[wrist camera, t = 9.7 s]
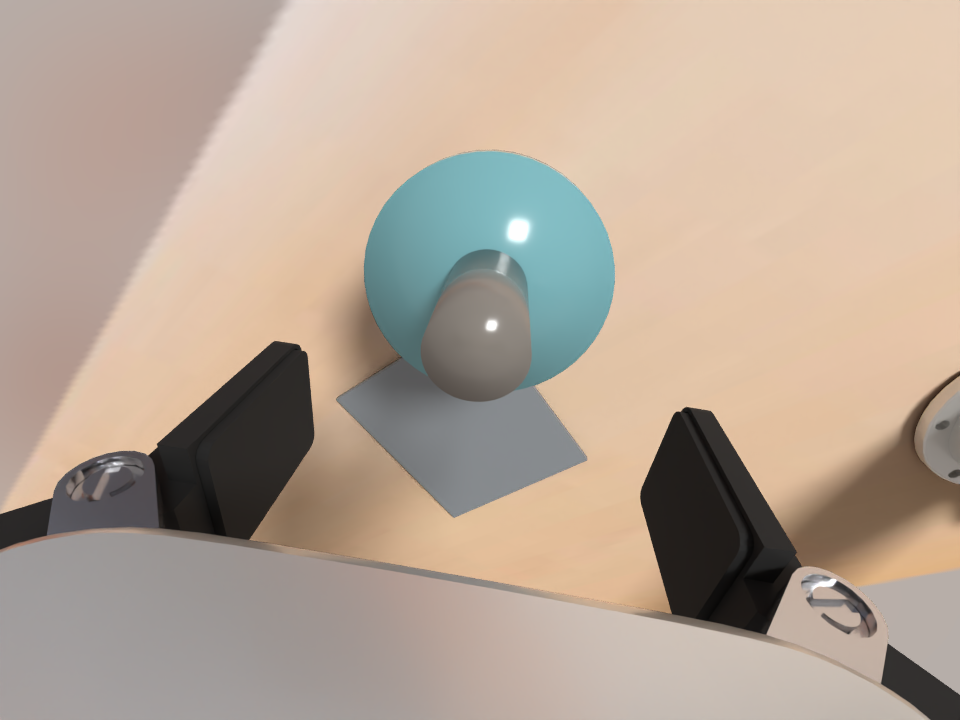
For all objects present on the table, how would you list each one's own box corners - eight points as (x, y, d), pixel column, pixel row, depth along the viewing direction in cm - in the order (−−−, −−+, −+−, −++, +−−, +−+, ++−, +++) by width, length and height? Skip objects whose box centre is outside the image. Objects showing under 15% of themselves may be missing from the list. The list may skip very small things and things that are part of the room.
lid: (651, 311, 20) (709, 400, 14) (463, 411, 24) (444, 516, 18) (526, 86, 16) (531, 72, 10) (323, 248, 20) (236, 311, 14)
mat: (586, 456, 37) (587, 460, 36) (454, 514, 41) (453, 517, 41) (478, 310, 31) (477, 312, 30) (337, 396, 35) (336, 399, 35)
